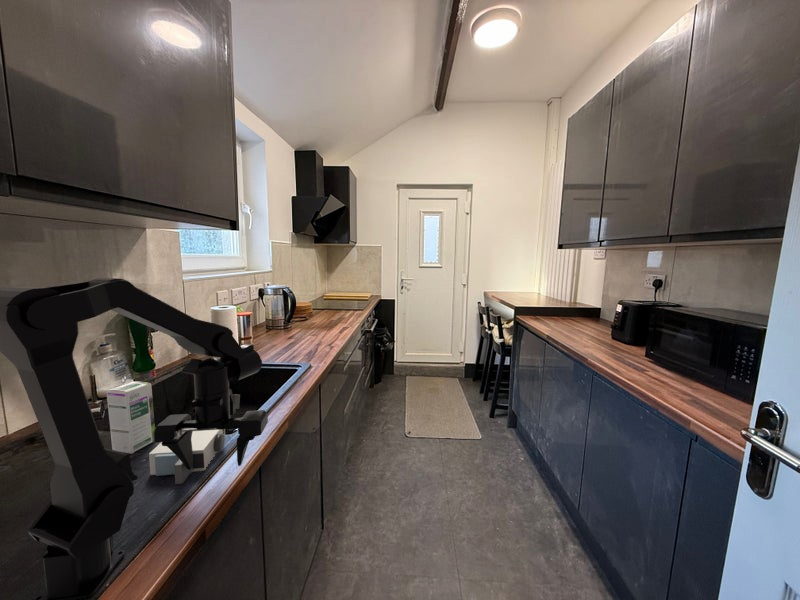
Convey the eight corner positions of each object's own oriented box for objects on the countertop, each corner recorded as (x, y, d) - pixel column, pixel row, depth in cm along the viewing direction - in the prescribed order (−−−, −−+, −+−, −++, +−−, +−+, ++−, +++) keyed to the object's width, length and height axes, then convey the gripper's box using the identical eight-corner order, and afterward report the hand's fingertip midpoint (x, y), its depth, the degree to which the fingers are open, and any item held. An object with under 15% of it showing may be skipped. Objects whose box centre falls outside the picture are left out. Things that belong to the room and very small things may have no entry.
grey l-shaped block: (182, 484, 60) (181, 464, 60) (144, 487, 59) (143, 467, 59) (192, 470, 64) (191, 452, 64) (158, 473, 63) (156, 454, 63)
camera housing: (209, 470, 65) (208, 447, 65) (150, 475, 63) (148, 452, 63) (227, 443, 75) (227, 423, 74) (176, 447, 73) (175, 427, 73)
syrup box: (131, 454, 70) (127, 391, 69) (110, 451, 71) (105, 389, 70) (156, 440, 76) (152, 382, 74) (136, 437, 77) (132, 380, 75)
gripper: (273, 374, 70) (275, 441, 71) (181, 377, 67) (185, 447, 69) (259, 394, 59) (261, 472, 60) (148, 398, 56) (153, 481, 58)
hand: (215, 466), depth 62 cm, fingers open, 9 cm apart
